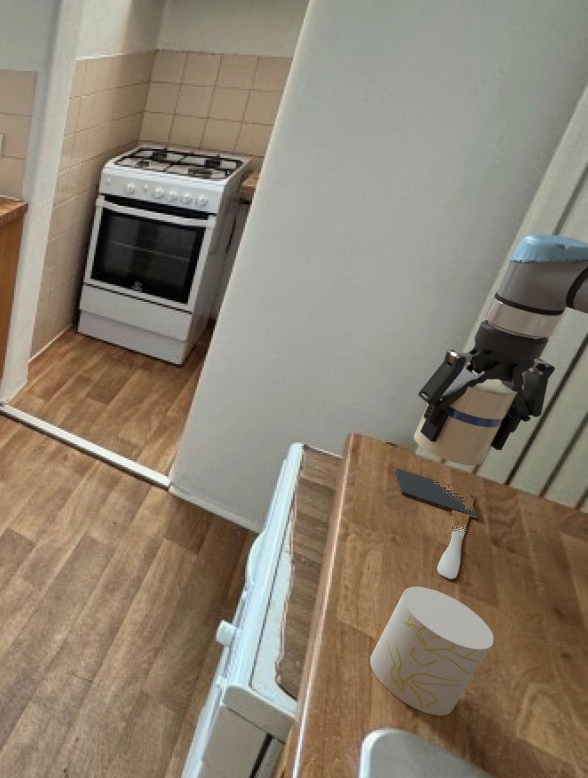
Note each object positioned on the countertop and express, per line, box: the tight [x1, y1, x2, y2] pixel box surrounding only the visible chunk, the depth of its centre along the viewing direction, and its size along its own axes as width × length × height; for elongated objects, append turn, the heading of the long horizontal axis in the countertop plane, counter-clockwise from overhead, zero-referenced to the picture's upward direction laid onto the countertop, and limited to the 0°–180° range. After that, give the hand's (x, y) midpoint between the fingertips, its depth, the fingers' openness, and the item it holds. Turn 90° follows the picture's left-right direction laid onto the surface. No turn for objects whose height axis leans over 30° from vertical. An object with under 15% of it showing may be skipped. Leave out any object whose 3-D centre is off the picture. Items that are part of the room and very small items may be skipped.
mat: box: [395, 467, 479, 518], centre depth 109 cm, size 10×8×1 cm
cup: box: [369, 586, 495, 716], centre depth 75 cm, size 8×8×12 cm
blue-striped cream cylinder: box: [413, 370, 517, 466], centre depth 104 cm, size 14×9×9 cm
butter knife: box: [436, 522, 467, 580], centre depth 100 cm, size 1×27×3 cm
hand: (459, 440), depth 105 cm, fingers closed on blue-striped cream cylinder, 9 cm apart
